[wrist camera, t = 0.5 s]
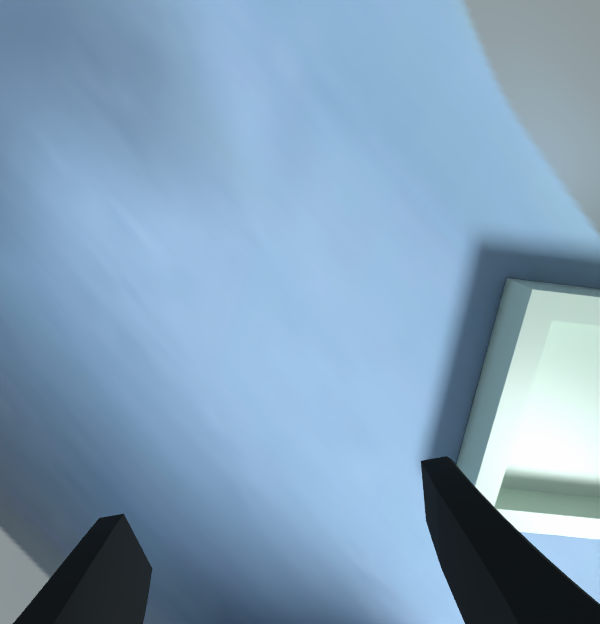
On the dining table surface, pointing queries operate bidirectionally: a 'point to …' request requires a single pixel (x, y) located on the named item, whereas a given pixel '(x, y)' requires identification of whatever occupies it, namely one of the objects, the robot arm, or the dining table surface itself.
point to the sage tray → (540, 411)
